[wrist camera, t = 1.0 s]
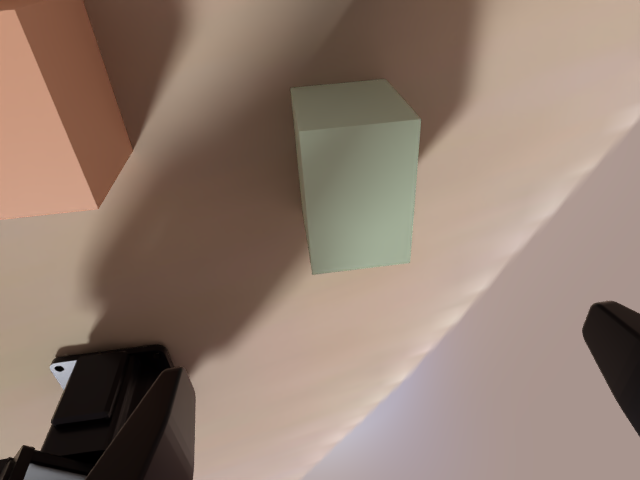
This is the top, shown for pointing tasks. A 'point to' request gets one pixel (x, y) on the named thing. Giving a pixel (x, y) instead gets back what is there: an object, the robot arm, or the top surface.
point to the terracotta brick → (55, 112)
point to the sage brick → (356, 173)
